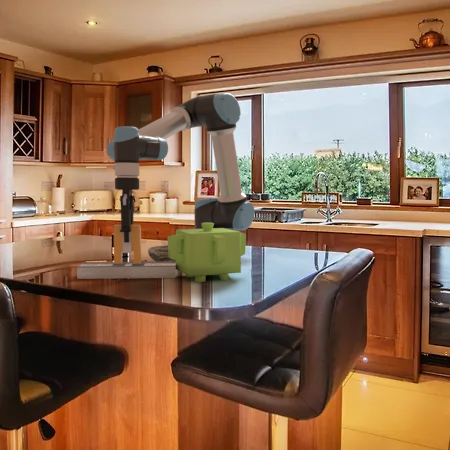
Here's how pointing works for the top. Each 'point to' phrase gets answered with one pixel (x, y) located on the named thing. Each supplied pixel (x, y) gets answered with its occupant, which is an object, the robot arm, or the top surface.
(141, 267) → the rail
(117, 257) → the tall orange block
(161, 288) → the top surface
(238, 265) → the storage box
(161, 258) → the stone
